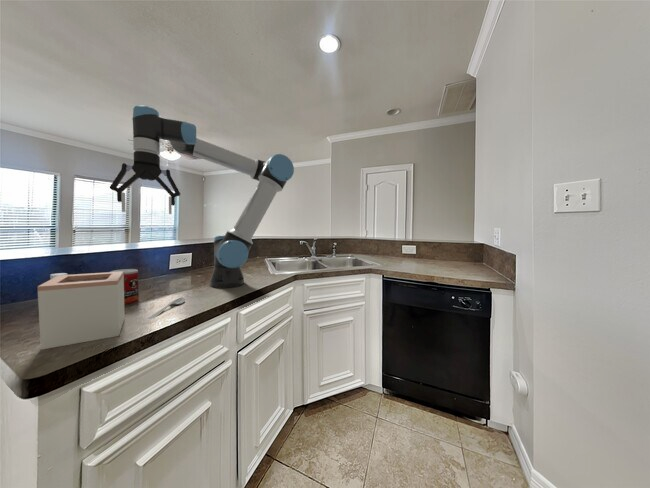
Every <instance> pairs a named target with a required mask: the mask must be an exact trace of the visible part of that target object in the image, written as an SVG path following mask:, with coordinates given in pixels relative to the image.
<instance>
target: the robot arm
mask: <svg viewBox="0 0 650 488" xmlns="http://www.w3.org/2000/svg"><path fill="white" fill-rule="evenodd" d="M132 110H133V111H132V118H131V119H132V135H133V138H132V140H133V141H132V143H133V165H130V164H127V163H125V162H124V163H122V164H121V170H120V171H119V172H118V174H117V176H116V177H115V178H114V179H113V181H112V182H111V184H110V186H109V189H110V190H111V191H114V192H116V197H117V198H116V200H117V202H119V203H121V212H122V213H126V193H125V192H124V191H125V190H127V188H129V187H130V186H131V185H132V184H133V183H134V182H136V181H137V180H139V179H141V180H142V181H145V180H146V181H147V180H148V181H151V182H152V181H156V182H157V183H158V185H160V186H161V187H162V188H163V189H164V190H165V192H166V193H167V194H168V195H169V196H168V214H169V215H172V214H173V213H172V210H173V209H172V207H173V206H176V197H180V196H181V192H180V190H179V189H178V186H177V184H176V183H175V181H174V180H173V177H172V175H171V171H170V169H161V159H160V158H161V157H160V151H161V150H160V146H161V144H160V140H163V141H169V142H170V145H171V147H172V148H173V150H174V151H175V152H177V153H179V154H181V155H182V154H183V155H185V154H187V155H191V156H193V157H197V158H199V159H202V160H205V161H208V162H210V163H213V164H216V165H219V166H221V167H225V168H228V169H230V170H234V171H235V172H238V173H242V174H244V175H245V174H246V175H248V176H250V179H252V180H255V181H258V185H257V186H256V188H255V189H254V191H253V193H252V194H251V197H250V198H249V200H248V202H247V203H246V205H245V207H244V209H243V211H242V213H240V216H239V218H238V219H237V221H236V222H235V225H234V227H233V228H231V229H229V230H227V231H226V233H225V235H224V234H223V235H216V236H215V237H214V241H213V247H214V248H213V250H214V251H213V252H214V253H213V257H214V258H213V260H214V261H213V262H214V263H213V266H214V267H213V271H212V273H211V277H210V279H209V285H210V286H211V287H212V288H213V287H214V288H234V287H235V288H236V287H240V286H242V285H244V284H243V283H245V277H244V275H243V272H242V271H243V270H242V267H241V266H242V265H243V266H244V265H245V263H246V262H247V260H248V257H249V252H250V249H251V248H252V246H253V244H254V242H253V240H252V238H253V237H254V235H255V233H256V231H257V230H258V228H259V226H260V224H261V222H262V220H263V218H264V217H265V215H266V212H267V211H268V209H269V207H270V205H271V204H272V202H273V200H274V198H275V196H276V194H277V193H279V192H282V191H283V190H284V187H285V186H286V184H287V181H289V180H291V179H292V177H293V175H294V172H295V167H294V163H293V162H292V160H291V159H290V158H289V157H288V156H286V155H285V154H281V153H277V154H274V155H271V156H270V157H269V159H267V160H261V159H258V158H257V159H252V158H249V157H247V156H244V155H242V154H239V153H236V152H233V151H231V150H229V149H226V148H223V147H221V146H218V145H216V144H213V143H210V142H207V141H205V140H203V139H200V138H199V137H198V138H197V126H196V125H195V124H194V123H191V122H187V121H182V120H177V119H172V118H166V117H162V116H160V114H159V111H158V110H157V109H155V108H154V107H149V106H148V105H142V104H137V105H135V106H133V109H132ZM130 170H132V171H133V172H134V174H133V175H131V176H130V178H128V180H126V181H125V182H124V183H123V184H122V185H120V186H119V184H121V181H122V180H123V179H124V177H125V175H126V174H127V172H130ZM161 174H163V176H164V177H166V178H167V181H168V182H169V184H170V187H171V188H172V189H170V188H169V186H168V185H167V184H166V183H165V182H164V181H163V180H162V178H160V176H161ZM118 186H119V187H118ZM172 190H173V191H172ZM239 285H240V286H239Z"/></svg>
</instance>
